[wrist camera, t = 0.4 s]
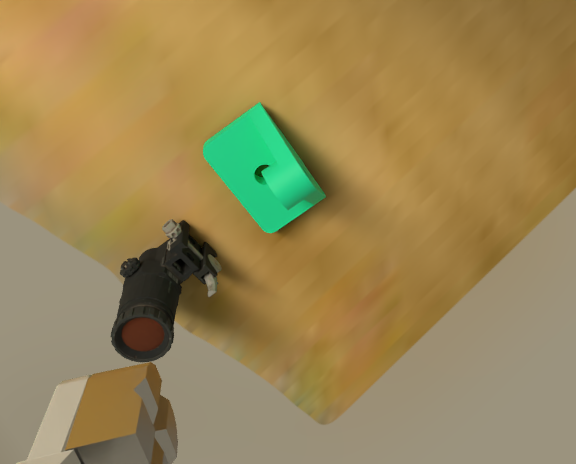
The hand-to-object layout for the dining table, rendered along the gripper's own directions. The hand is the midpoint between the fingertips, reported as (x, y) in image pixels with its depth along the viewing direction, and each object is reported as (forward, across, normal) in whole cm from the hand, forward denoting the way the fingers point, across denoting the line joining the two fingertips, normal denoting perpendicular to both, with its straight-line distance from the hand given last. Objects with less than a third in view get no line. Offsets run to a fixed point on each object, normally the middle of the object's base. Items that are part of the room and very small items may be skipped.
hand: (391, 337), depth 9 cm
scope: (+46, +14, +20) cm, 52 cm away
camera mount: (+46, +1, +12) cm, 47 cm away
